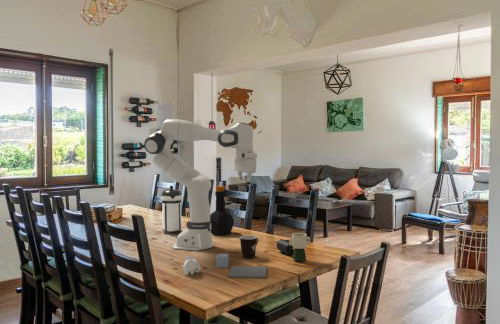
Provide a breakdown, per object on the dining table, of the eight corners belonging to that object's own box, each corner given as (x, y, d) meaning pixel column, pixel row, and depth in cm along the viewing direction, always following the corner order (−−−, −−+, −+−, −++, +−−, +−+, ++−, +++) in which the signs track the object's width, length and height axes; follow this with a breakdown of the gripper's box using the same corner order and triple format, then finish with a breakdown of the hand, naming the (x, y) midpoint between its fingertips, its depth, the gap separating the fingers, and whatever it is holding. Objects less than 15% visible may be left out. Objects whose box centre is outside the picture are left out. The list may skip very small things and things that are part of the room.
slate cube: (216, 267, 194) (216, 256, 194) (218, 264, 199) (218, 253, 199) (227, 267, 193) (227, 256, 193) (228, 264, 198) (228, 253, 198)
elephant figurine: (203, 275, 183) (203, 258, 182) (181, 276, 181) (180, 260, 180) (201, 269, 190) (201, 254, 190) (180, 271, 188) (179, 255, 188)
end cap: (276, 252, 219) (276, 239, 219) (288, 250, 222) (287, 237, 222) (286, 256, 210) (286, 243, 210) (298, 255, 213) (298, 241, 213)
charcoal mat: (228, 277, 179) (228, 275, 179) (232, 267, 193) (232, 265, 193) (265, 278, 177) (265, 276, 177) (267, 268, 191) (267, 266, 191)
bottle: (217, 237, 254) (216, 188, 252) (203, 233, 266) (202, 186, 265) (238, 233, 263) (238, 186, 262) (223, 229, 276) (222, 184, 275)
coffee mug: (244, 260, 204) (244, 240, 204) (237, 256, 212) (236, 236, 212) (265, 257, 210) (265, 237, 209) (257, 253, 217) (257, 234, 217)
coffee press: (189, 230, 274) (189, 185, 273) (172, 235, 261) (172, 187, 259) (170, 228, 283) (169, 183, 282) (152, 232, 270) (151, 186, 268)
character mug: (306, 257, 208) (306, 231, 207) (313, 261, 201) (312, 234, 200) (286, 259, 205) (286, 233, 204) (291, 263, 198) (291, 236, 197)
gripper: (231, 153, 224) (231, 179, 224) (246, 154, 205) (246, 182, 206) (242, 153, 226) (242, 179, 227) (258, 154, 208) (258, 182, 208)
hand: (244, 180), depth 216 cm, fingers open, 8 cm apart
